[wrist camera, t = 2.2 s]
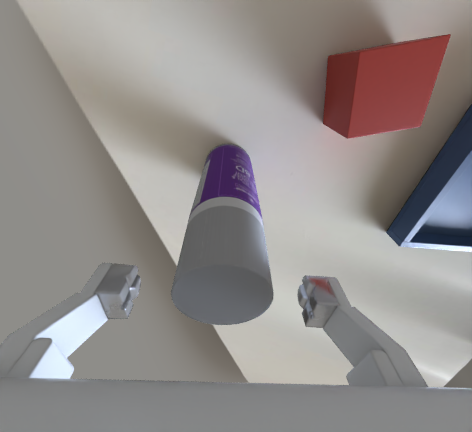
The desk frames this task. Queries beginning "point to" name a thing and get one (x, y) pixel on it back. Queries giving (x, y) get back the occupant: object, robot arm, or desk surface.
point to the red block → (382, 86)
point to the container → (224, 245)
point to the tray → (441, 199)
